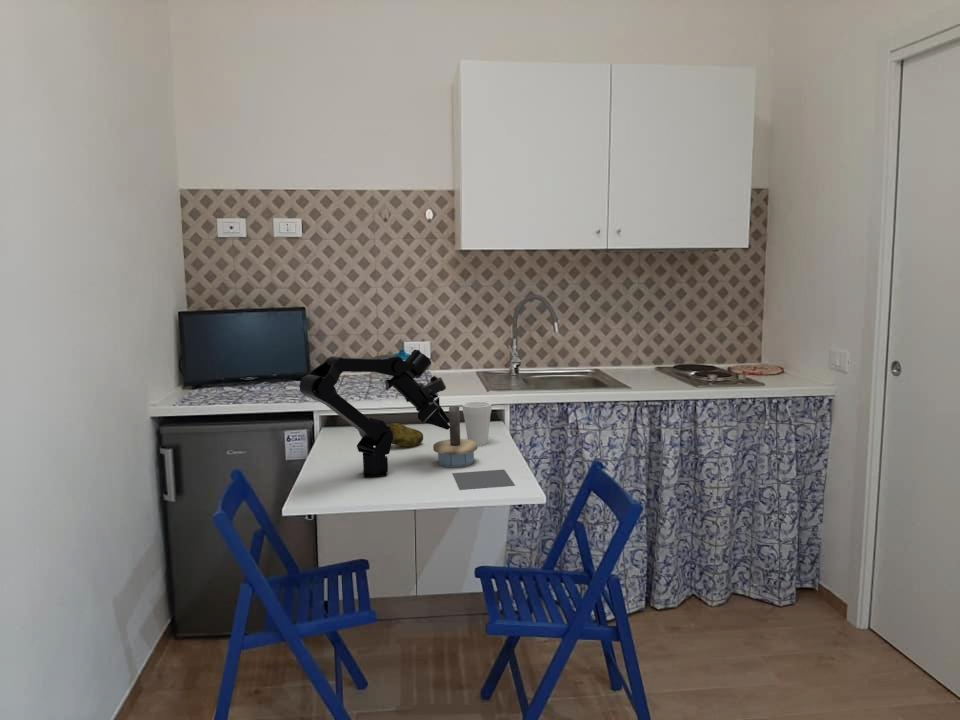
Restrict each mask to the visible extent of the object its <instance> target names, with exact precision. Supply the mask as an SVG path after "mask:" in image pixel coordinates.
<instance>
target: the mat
mask: <svg viewBox="0 0 960 720" xmlns="http://www.w3.org/2000/svg"><path fill="white" fill-rule="evenodd" d="M451 475H452V476H453V478H454V481H455V483H456V486H457V487H458V490H459V491H463V490H476V489H488V488H489V489H491V488H493V489H494V488H503V487H505V488H506V487H516V484H515V483H514V482H513V480H512V478H511V477H510V476H509V473H507V471H506V470H505V469H492V470H491V469H490V470H479V471H477V470H476V471H464V472H452V473H451Z"/></svg>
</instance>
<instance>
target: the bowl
mask: <svg viewBox="0 0 960 720" xmlns="http://www.w3.org/2000/svg"><path fill="white" fill-rule="evenodd" d="M474 452H475V451H474ZM474 452H471V453H466V454H458V455H448V454H440V453H437V460H438V463H439V465H440V466H441V467H445V468H462V467H463V468H464V467H467V466H471V465H472V464H473V462H474V461H475V453H474Z"/></svg>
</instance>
